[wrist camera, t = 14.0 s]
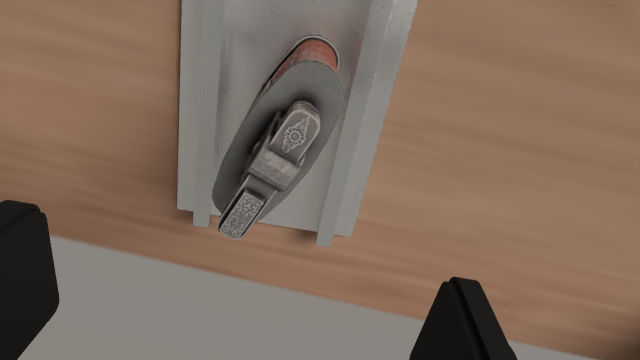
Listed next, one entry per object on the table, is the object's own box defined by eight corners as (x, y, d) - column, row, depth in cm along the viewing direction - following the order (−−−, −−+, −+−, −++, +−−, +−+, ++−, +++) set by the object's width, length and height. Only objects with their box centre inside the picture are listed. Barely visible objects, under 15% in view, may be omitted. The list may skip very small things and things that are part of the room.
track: (432, -58, 19) (442, -61, 18) (350, 233, 28) (352, 250, 26) (187, -114, 19) (173, -123, 17) (179, 205, 27) (169, 221, 25)
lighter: (301, 19, 21) (284, 56, 12) (353, 56, 22) (372, 116, 13) (230, 136, 24) (175, 234, 15) (277, 165, 25) (252, 272, 16)
